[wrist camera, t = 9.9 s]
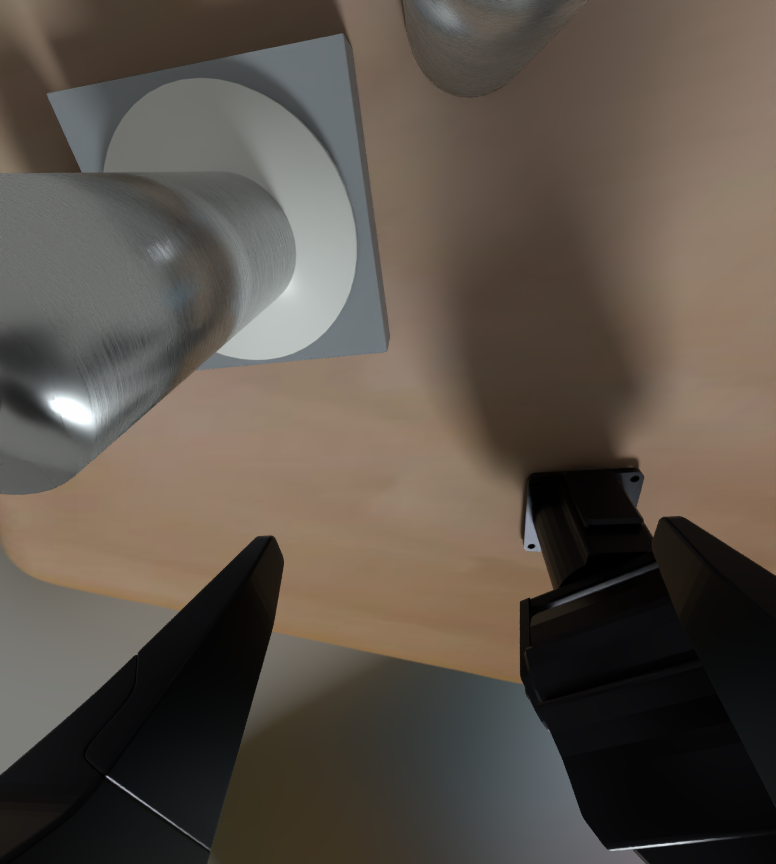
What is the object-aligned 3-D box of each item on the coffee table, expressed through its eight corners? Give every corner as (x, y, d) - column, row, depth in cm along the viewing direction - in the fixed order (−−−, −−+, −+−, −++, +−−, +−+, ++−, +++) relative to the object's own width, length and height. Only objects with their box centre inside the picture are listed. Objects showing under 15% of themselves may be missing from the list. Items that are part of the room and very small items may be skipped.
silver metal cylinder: (279, 326, 18) (91, 529, 8) (165, 279, 17) (-203, 436, 7) (311, 207, 15) (91, 281, 5) (179, 145, 14) (-382, 92, 4)
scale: (389, 337, 21) (381, 377, 17) (141, 362, 23) (80, 404, 18) (352, 48, 15) (325, 4, 11) (20, 114, 17) (-108, 96, 13)
